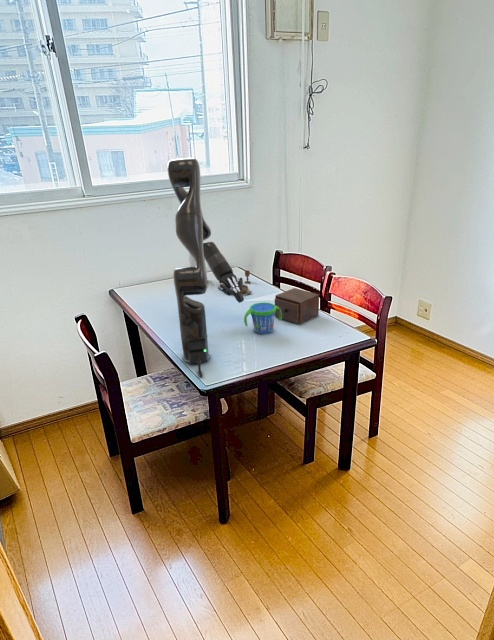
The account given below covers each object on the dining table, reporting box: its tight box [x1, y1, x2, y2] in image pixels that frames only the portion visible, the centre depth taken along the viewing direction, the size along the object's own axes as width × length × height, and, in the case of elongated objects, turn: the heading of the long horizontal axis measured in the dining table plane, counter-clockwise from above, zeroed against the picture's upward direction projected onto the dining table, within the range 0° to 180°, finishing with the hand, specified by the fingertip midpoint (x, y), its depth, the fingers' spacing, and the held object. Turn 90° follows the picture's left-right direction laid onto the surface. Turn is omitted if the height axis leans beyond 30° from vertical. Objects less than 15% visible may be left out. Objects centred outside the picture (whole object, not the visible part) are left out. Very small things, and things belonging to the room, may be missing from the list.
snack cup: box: [243, 302, 283, 335], centre depth 198 cm, size 16×10×10 cm
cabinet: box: [274, 287, 320, 325], centre depth 211 cm, size 13×14×10 cm
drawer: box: [274, 298, 299, 324], centre depth 210 cm, size 13×12×8 cm
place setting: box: [228, 270, 252, 296], centre depth 244 cm, size 18×20×6 cm
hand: (241, 301), depth 203 cm, fingers closed
